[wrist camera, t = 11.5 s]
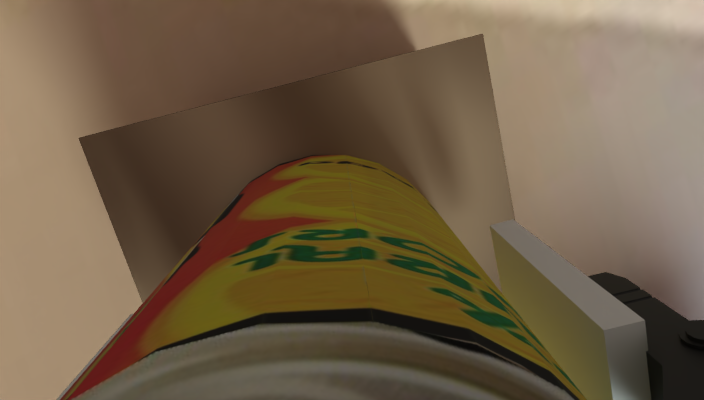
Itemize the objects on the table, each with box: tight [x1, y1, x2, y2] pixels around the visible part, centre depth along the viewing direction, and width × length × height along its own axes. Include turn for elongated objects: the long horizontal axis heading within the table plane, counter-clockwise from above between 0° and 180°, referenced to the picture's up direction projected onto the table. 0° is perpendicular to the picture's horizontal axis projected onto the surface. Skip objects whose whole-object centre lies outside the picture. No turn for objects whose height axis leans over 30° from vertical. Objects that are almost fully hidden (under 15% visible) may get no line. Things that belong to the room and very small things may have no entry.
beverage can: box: [60, 155, 587, 400], centre depth 12 cm, size 9×9×12 cm
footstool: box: [79, 34, 515, 303], centre depth 22 cm, size 14×14×9 cm
